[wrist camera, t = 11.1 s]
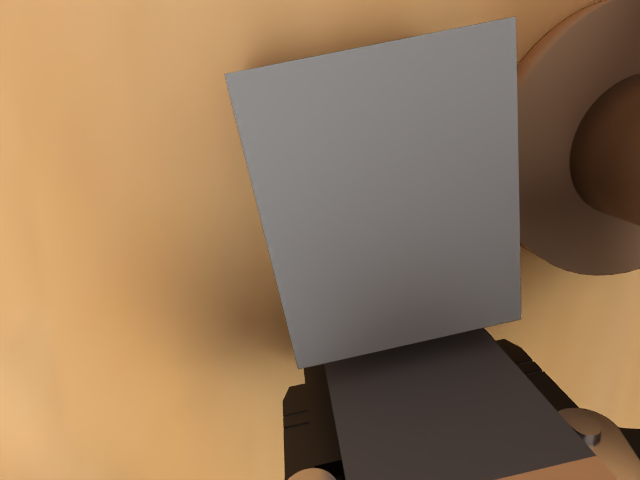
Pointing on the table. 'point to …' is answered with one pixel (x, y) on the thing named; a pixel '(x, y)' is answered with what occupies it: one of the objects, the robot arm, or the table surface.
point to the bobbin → (582, 141)
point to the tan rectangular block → (451, 416)
